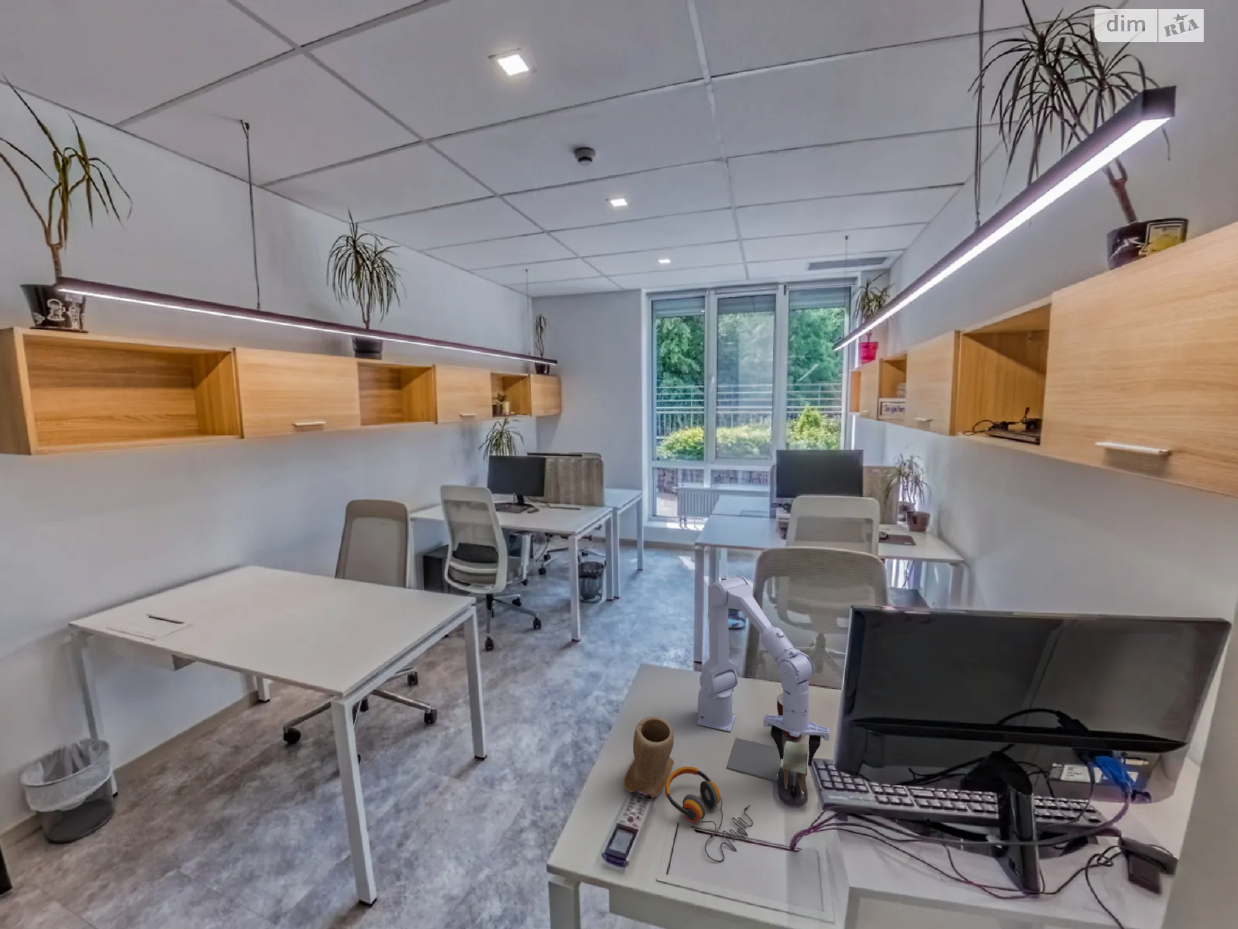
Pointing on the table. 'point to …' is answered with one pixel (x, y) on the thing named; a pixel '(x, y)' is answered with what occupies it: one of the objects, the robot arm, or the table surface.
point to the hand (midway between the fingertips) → (795, 760)
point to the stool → (795, 761)
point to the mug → (780, 713)
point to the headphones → (696, 808)
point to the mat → (755, 759)
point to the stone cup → (650, 756)
